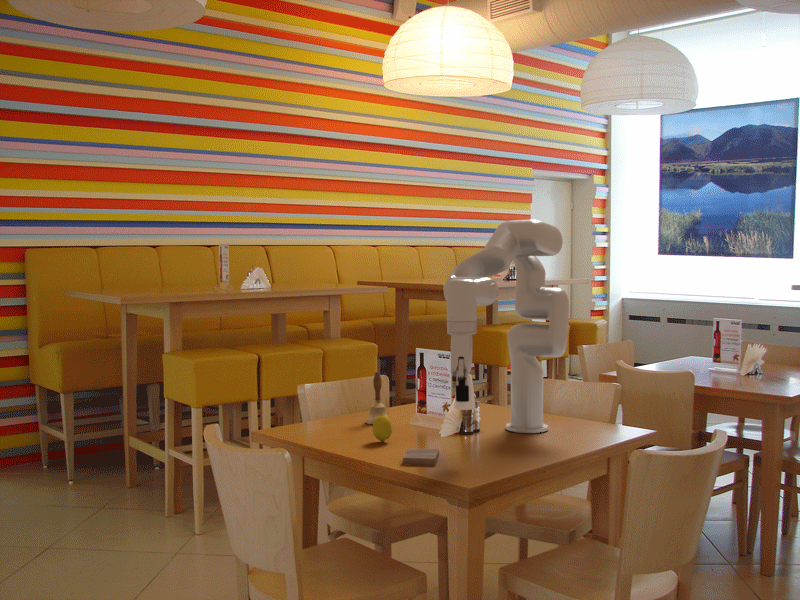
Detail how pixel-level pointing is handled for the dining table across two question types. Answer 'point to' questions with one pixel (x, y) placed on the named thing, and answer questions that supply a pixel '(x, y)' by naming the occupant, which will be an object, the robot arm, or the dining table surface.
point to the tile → (421, 457)
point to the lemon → (382, 427)
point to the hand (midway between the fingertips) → (463, 398)
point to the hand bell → (376, 401)
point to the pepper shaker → (471, 402)
